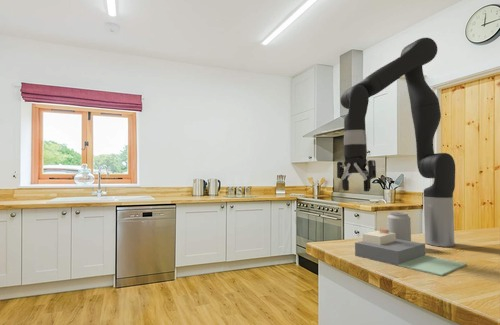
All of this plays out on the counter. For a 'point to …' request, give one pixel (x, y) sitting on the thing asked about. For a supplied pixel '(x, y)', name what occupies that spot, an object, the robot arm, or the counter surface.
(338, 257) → the counter surface
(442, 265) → the mat
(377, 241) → the cream rectangular slab
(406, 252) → the block
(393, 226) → the can
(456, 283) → the counter surface
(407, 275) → the counter surface
